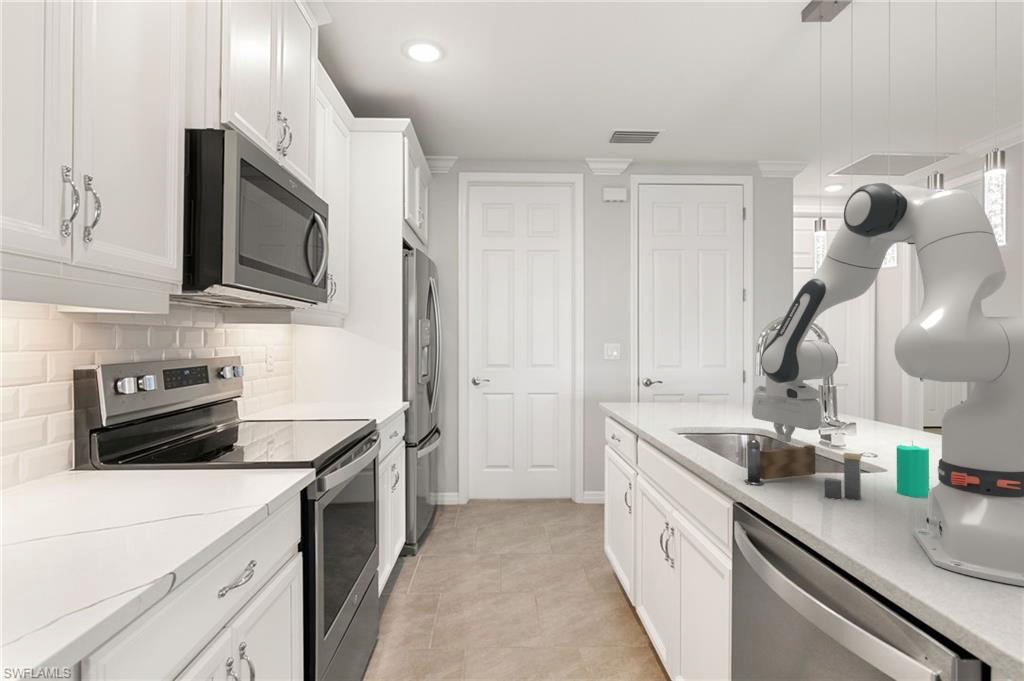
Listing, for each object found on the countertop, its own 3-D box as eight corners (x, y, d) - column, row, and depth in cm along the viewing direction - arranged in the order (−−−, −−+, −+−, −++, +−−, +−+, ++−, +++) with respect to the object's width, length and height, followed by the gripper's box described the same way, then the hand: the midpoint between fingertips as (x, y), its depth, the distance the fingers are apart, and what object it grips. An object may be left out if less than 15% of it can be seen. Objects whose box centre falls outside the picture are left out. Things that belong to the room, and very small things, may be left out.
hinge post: (761, 486, 127) (761, 441, 127) (742, 483, 130) (741, 439, 130) (765, 482, 131) (765, 438, 130) (746, 479, 133) (746, 437, 133)
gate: (764, 479, 130) (764, 450, 130) (759, 478, 132) (759, 449, 132) (815, 474, 135) (815, 446, 135) (810, 472, 136) (810, 445, 136)
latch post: (859, 502, 114) (859, 458, 114) (824, 497, 118) (824, 454, 118) (861, 497, 118) (861, 454, 118) (827, 492, 122) (827, 450, 122)
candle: (934, 498, 117) (933, 444, 117) (902, 496, 119) (901, 442, 119) (923, 490, 122) (922, 439, 122) (892, 488, 124) (892, 437, 124)
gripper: (746, 385, 149) (746, 434, 149) (805, 393, 130) (805, 449, 130) (764, 384, 151) (764, 433, 151) (826, 392, 131) (826, 448, 132)
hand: (784, 441), depth 140 cm, fingers closed
